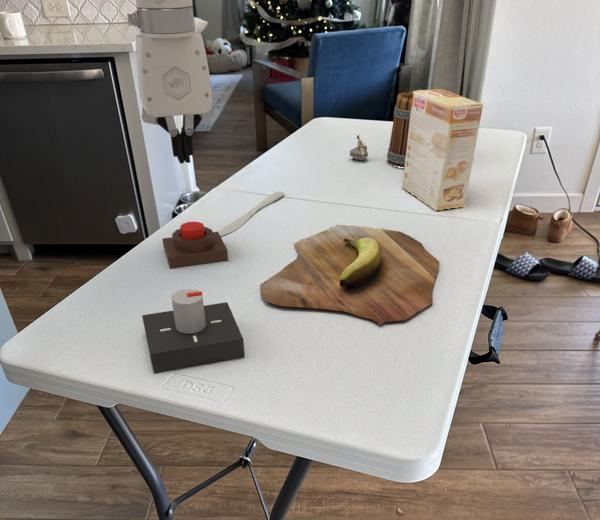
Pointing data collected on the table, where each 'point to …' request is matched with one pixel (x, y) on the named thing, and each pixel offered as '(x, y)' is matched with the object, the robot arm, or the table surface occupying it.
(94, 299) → the table surface
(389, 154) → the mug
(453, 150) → the coffeecake box
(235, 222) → the butter knife
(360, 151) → the figurine
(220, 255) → the block
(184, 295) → the dial
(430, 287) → the cutting board
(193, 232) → the power button
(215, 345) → the dial panel
